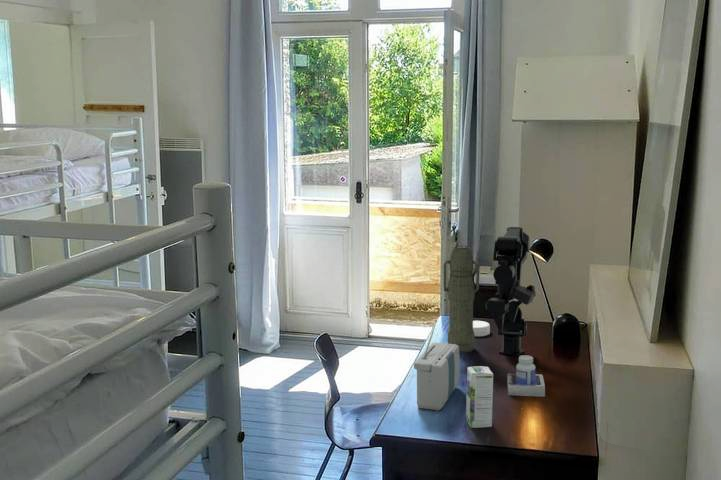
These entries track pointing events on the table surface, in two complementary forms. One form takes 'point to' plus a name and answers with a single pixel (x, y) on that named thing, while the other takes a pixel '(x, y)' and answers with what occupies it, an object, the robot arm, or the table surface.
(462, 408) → the table surface
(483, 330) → the white round tub
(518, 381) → the pill bottle
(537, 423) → the table surface
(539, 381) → the housing
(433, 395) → the stereo radio cassette player
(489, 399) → the syrup box
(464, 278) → the thermos
